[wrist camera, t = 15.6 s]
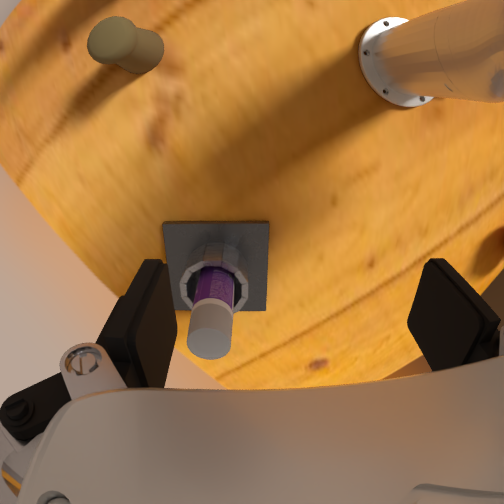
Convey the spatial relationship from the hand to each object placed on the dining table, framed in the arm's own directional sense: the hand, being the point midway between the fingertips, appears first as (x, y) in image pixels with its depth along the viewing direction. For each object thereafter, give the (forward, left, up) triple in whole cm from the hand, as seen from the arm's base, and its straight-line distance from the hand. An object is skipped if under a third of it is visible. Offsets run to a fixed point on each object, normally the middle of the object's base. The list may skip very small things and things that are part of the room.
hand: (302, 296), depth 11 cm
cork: (+15, -14, -31) cm, 37 cm away
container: (+6, +16, -30) cm, 34 cm away
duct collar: (+6, +16, -30) cm, 35 cm away
